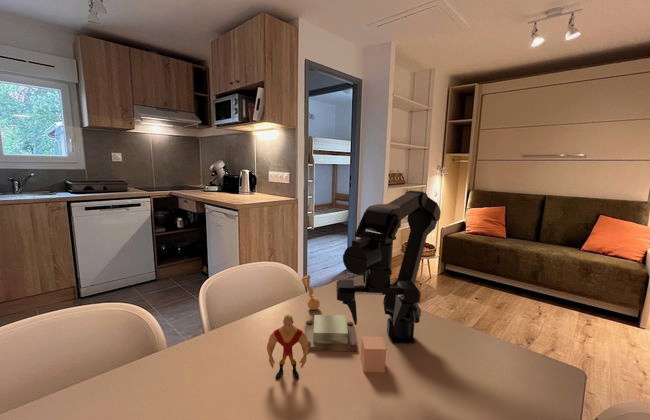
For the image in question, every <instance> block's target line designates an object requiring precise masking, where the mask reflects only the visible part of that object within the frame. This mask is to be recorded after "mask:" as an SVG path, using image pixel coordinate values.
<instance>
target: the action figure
mask: <svg viewBox="0 0 650 420" xmlns="http://www.w3.org/2000/svg"><path fill="white" fill-rule="evenodd" d="M293 324H294V318H293V315H291V314H286V315H284V317H283V320H282V326H281V327H278V328H277V329H275V330H274V331H272V333H271V334H270V335H269V338H268V342H267V345H266V351H267V355H268V362H269V364H270V367H271V368H272V369H274V366H275V364H276V361H275V359H274V357H273V354H274V350H275V347H276V345H277V343H278V344H280V345H281V346H282V348H283V352H282V358H281V359H280V361H279V369H278V371H277V373H276V375H275V377H274V378H275V380H279V379H280V378H281V376H282V374H283V373H284V365H285V363H286V359H287V357H289V361H290V364H291V365H290V366H291V367H292V374H293V376H294V377H293V378H295V380H298V379H299V378H300V375H299V372H298V370H297V361H296V359H294V353H293V347H294V346H295V345H296V344H297V343H298V344H300V346H301V349H302V354H303V357H301V359H300V361H299V364H301V365H300V369H303V367H304V365H305V364H306V362H307V355H308V353H309V351H310V350H309V344H308V340H307V337H306V335H305V331H303V330H302V329H300V328H298V327H296V326H295V325H293Z"/></svg>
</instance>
